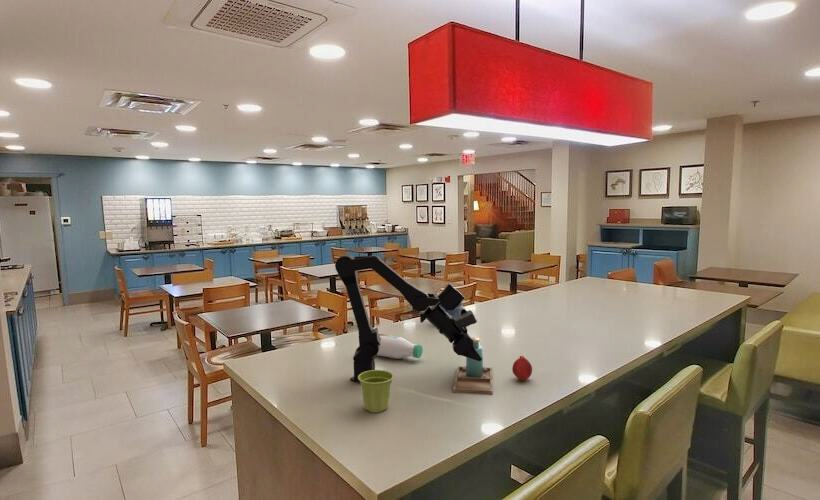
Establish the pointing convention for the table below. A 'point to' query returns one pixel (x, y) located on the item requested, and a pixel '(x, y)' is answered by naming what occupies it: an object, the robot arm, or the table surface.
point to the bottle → (475, 362)
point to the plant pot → (376, 389)
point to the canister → (455, 311)
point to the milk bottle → (398, 347)
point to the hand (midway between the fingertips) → (478, 355)
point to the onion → (522, 368)
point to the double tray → (473, 382)
